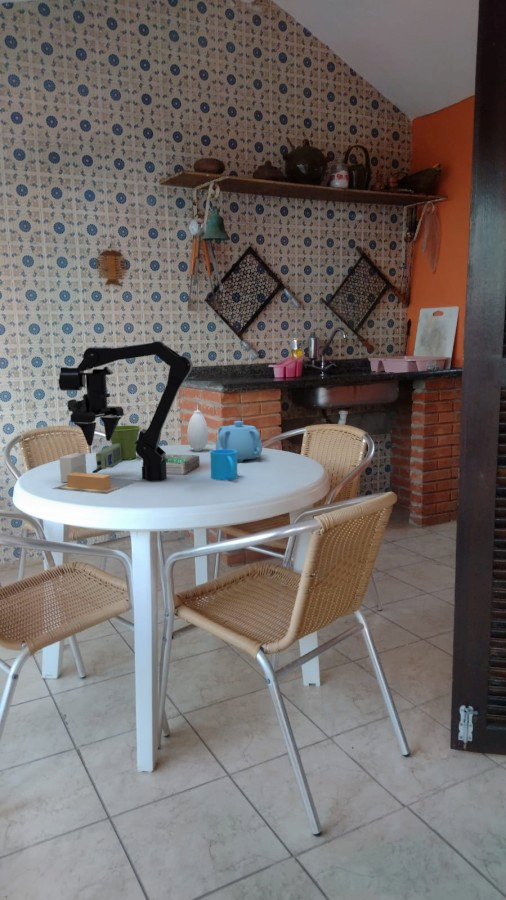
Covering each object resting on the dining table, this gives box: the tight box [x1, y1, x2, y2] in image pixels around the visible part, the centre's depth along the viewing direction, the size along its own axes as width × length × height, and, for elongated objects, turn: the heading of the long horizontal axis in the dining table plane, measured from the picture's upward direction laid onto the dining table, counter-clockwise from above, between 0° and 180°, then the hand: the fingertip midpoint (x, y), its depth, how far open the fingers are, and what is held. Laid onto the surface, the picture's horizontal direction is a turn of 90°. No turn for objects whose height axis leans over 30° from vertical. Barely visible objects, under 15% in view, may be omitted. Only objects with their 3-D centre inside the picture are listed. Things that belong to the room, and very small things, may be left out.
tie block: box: [59, 452, 87, 483], centre depth 192 cm, size 4×7×7 cm, turn 158°
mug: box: [210, 449, 238, 481], centre depth 198 cm, size 12×8×8 cm
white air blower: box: [186, 403, 209, 452], centre depth 245 cm, size 8×8×18 cm
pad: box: [58, 485, 120, 494], centre depth 182 cm, size 16×6×1 cm, turn 68°
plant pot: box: [110, 424, 141, 461], centre depth 231 cm, size 12×12×11 cm
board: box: [52, 477, 141, 495], centre depth 187 cm, size 18×18×1 cm
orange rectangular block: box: [66, 472, 111, 490], centre depth 182 cm, size 12×4×4 cm, turn 68°
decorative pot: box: [215, 420, 263, 463], centre depth 229 cm, size 16×16×14 cm
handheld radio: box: [91, 443, 123, 474], centre depth 215 cm, size 7×3×25 cm
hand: (99, 443), depth 192 cm, fingers open, 9 cm apart
